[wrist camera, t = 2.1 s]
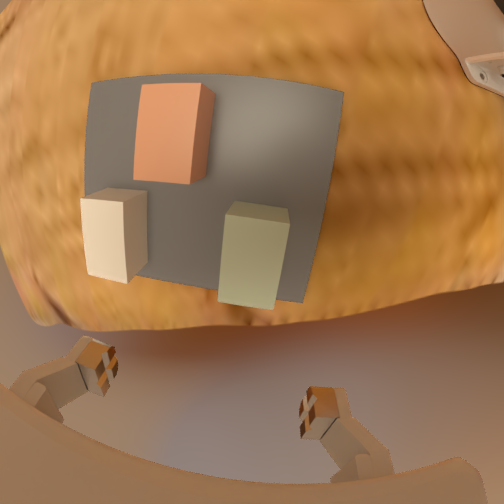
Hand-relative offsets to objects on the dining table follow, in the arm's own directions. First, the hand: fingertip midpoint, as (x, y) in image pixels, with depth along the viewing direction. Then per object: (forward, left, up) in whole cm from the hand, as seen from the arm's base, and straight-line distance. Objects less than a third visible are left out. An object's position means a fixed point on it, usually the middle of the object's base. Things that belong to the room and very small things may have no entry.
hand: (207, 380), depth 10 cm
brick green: (-1, +1, -18) cm, 18 cm away
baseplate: (+6, -4, -19) cm, 20 cm away
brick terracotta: (+7, -9, -18) cm, 21 cm away
